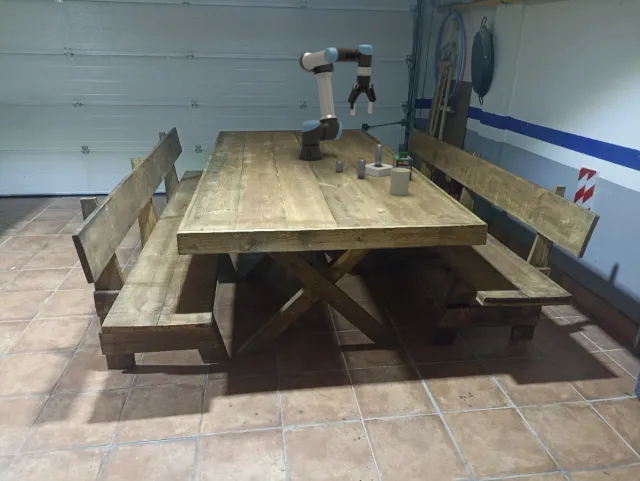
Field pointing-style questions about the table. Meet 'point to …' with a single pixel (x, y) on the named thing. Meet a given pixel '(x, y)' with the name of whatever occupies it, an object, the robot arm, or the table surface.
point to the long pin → (378, 155)
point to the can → (399, 181)
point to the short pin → (339, 166)
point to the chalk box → (403, 162)
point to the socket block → (378, 170)
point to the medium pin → (361, 168)
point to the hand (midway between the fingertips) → (361, 114)
